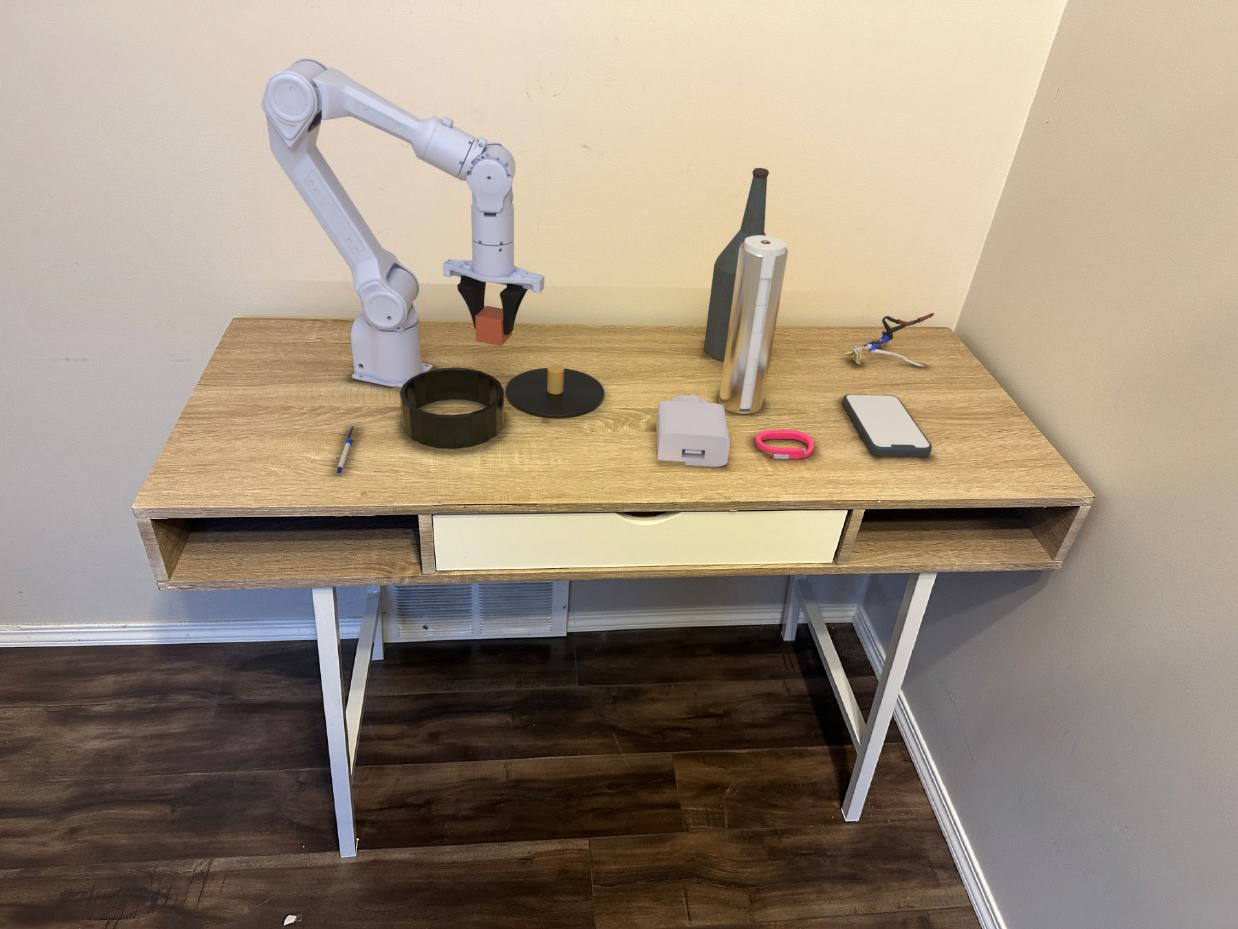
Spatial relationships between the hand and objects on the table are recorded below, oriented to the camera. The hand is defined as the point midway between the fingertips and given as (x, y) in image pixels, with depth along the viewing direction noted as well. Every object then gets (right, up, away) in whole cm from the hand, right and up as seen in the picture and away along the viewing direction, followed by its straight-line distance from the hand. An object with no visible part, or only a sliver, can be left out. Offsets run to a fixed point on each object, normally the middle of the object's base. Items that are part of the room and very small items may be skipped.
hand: (494, 329), depth 131 cm
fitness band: (+41, -17, -6) cm, 45 cm away
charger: (+28, -16, -5) cm, 32 cm away
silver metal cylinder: (+36, -11, +3) cm, 38 cm away
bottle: (+37, -2, +17) cm, 41 cm away
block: (0, -1, +1) cm, 1 cm away
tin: (-5, -14, -7) cm, 16 cm away
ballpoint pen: (-17, -18, -13) cm, 28 cm away
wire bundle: (+62, -2, +20) cm, 65 cm away
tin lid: (+9, -9, +1) cm, 13 cm away
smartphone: (+57, -15, 0) cm, 58 cm away
